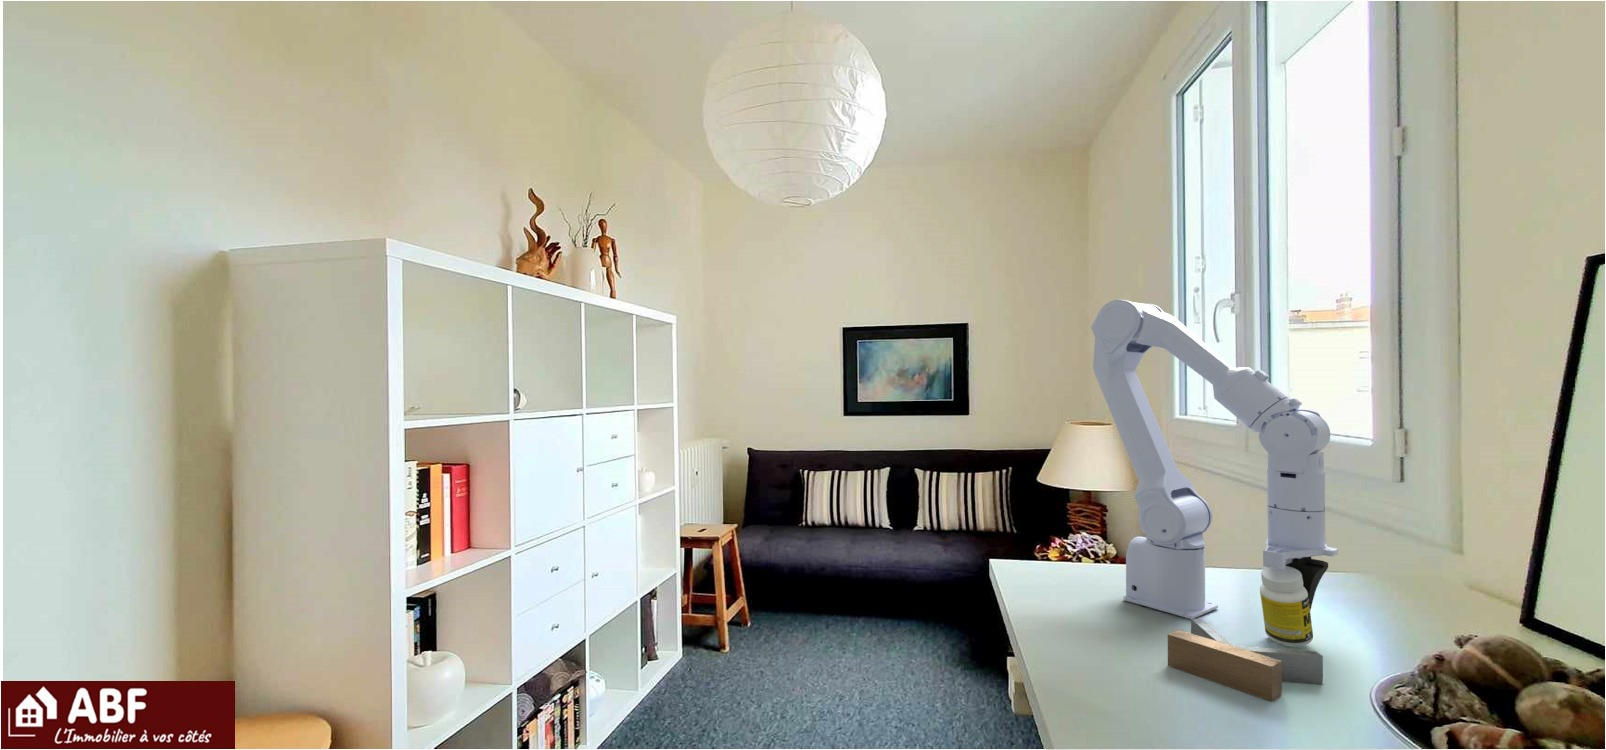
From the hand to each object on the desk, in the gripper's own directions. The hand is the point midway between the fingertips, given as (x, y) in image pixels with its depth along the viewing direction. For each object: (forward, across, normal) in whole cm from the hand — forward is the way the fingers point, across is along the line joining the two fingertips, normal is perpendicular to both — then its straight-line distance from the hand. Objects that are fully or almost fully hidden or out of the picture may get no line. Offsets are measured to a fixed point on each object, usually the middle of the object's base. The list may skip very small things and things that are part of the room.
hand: (1296, 617), depth 81 cm
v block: (+2, -17, 0) cm, 17 cm away
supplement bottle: (+2, -2, 0) cm, 3 cm away
